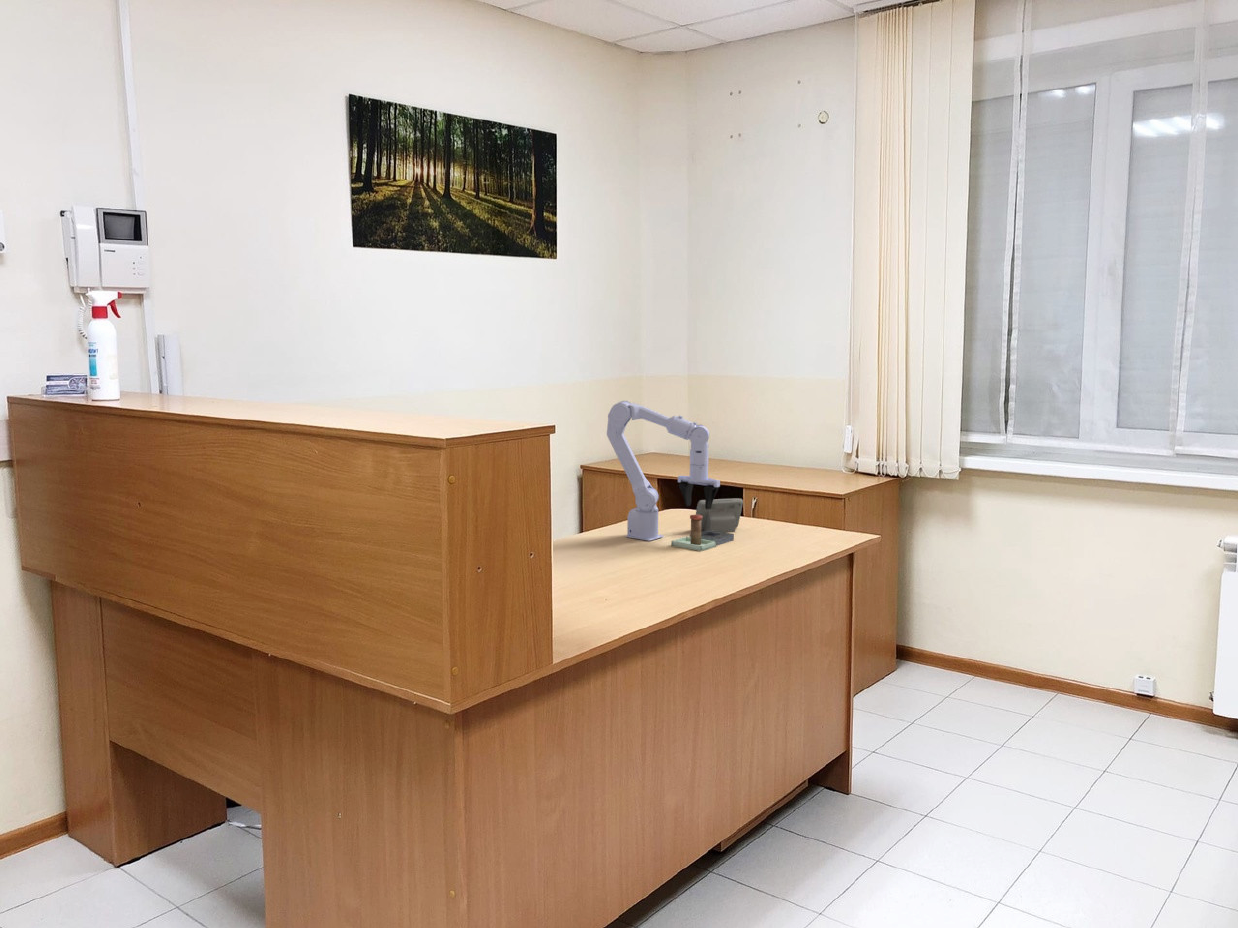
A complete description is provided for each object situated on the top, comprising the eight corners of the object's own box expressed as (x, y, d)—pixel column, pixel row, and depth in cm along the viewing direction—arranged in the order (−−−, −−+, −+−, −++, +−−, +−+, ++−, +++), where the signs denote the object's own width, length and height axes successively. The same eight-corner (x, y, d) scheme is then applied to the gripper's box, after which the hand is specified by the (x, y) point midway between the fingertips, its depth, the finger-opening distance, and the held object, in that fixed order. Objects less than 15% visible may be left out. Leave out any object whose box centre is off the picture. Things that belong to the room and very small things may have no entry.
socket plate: (689, 541, 310) (689, 534, 309) (707, 535, 317) (707, 529, 317) (716, 545, 303) (716, 539, 303) (733, 540, 311) (733, 534, 311)
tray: (671, 545, 303) (671, 540, 303) (686, 541, 309) (686, 536, 309) (701, 551, 296) (701, 546, 296) (715, 546, 302) (716, 541, 302)
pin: (687, 544, 303) (687, 516, 302) (694, 542, 306) (694, 514, 305) (697, 546, 301) (697, 517, 299) (704, 543, 303) (704, 515, 302)
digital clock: (738, 527, 331) (739, 495, 330) (745, 533, 322) (746, 500, 321) (691, 528, 329) (691, 496, 328) (696, 533, 320) (697, 501, 319)
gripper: (672, 463, 309) (671, 506, 311) (711, 468, 300) (710, 512, 302) (685, 461, 315) (684, 503, 317) (724, 465, 306) (723, 508, 308)
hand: (698, 507), depth 310 cm, fingers open, 7 cm apart
